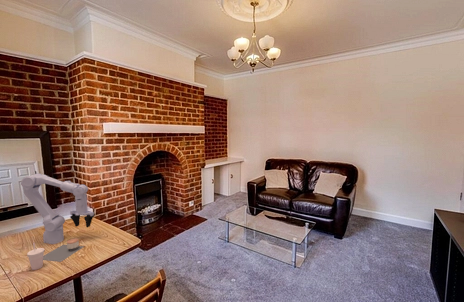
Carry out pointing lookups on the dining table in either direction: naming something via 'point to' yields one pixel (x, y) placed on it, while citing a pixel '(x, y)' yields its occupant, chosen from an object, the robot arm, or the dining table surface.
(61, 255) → the knob mounting plate
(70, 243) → the cap
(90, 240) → the dining table surface
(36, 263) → the smoothie
